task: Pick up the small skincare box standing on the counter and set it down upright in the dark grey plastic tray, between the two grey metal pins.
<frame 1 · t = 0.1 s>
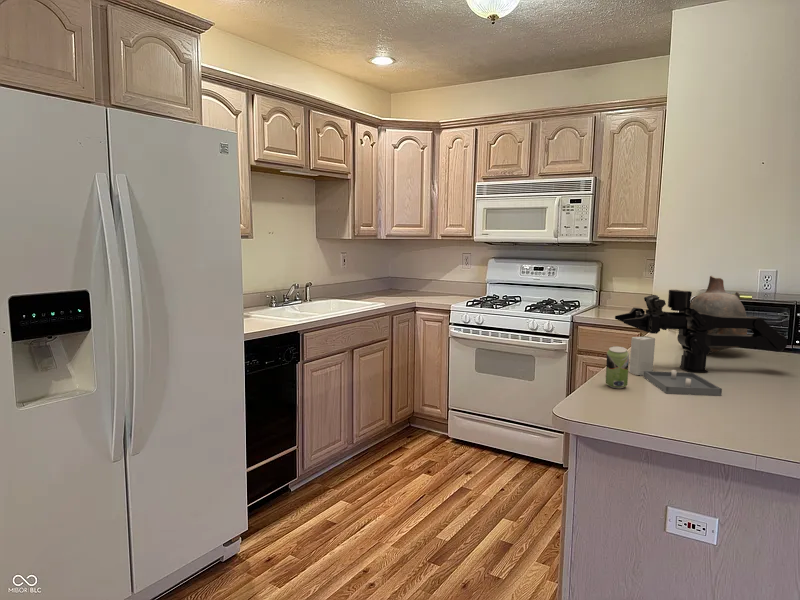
hand: (619, 319, 182), 17 cm above the worktop, tool horizontal, fingers open, 9 cm apart
tray: (680, 385, 162), on the worktop
beverage can: (615, 387, 160), on the worktop
jug: (711, 353, 210), on the worktop
skincare box: (640, 374, 175), on the worktop
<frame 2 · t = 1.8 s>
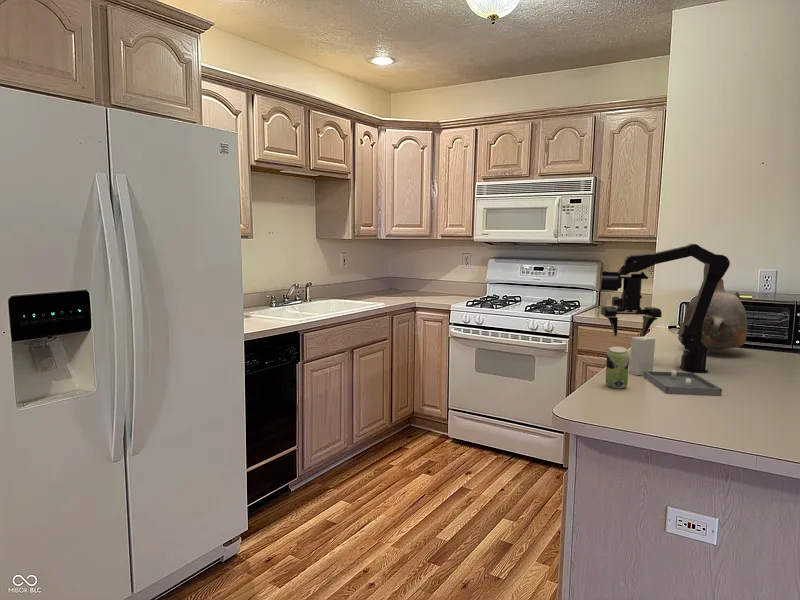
hand: (629, 336, 186), 10 cm above the worktop, tool pointing down, fingers open, 9 cm apart
nothing on the worktop moved.
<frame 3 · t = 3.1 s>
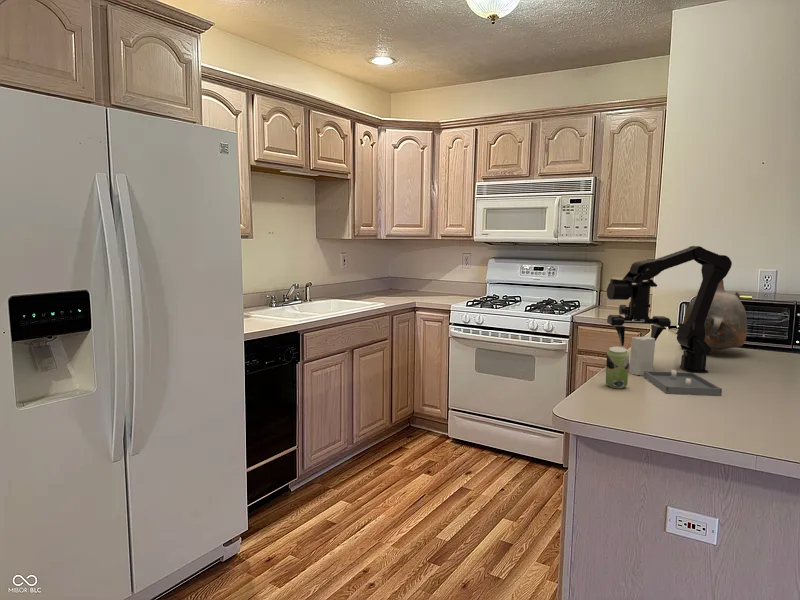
hand: (636, 346, 180), 8 cm above the worktop, tool pointing down, fingers open, 9 cm apart
nothing on the worktop moved.
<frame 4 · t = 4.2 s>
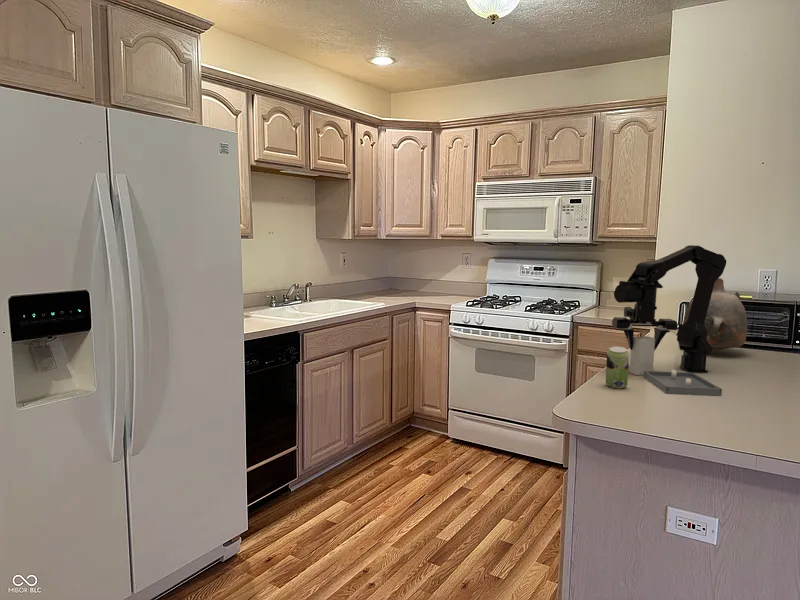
hand: (642, 349, 174), 8 cm above the worktop, tool pointing down, fingers closed on skincare box, 7 cm apart
skincare box: (640, 374, 175), on the worktop, touching gripper
everything else where it was.
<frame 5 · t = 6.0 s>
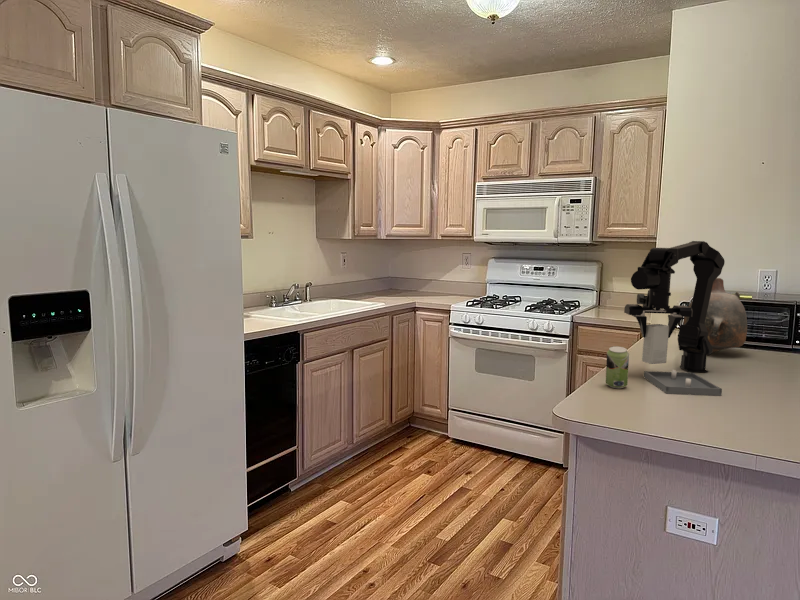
hand: (655, 337, 169), 13 cm above the worktop, tool pointing down, fingers closed on skincare box, 7 cm apart
skincare box: (653, 363, 170), point 5 cm above the worktop, touching gripper
everything else where it was.
when the fingers open (10 cm above the worktop, at t = 7.9 s): skincare box drops 1 cm, resting on tray.
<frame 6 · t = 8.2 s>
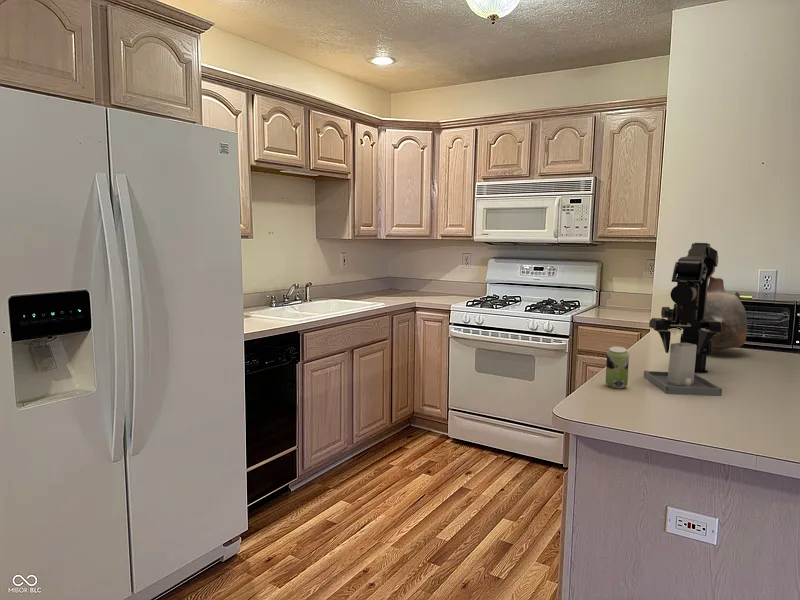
hand: (682, 353, 161), 10 cm above the worktop, tool pointing down, fingers open, 9 cm apart
skincare box: (680, 383, 162), point 1 cm above the worktop, touching tray
everything else where it was.
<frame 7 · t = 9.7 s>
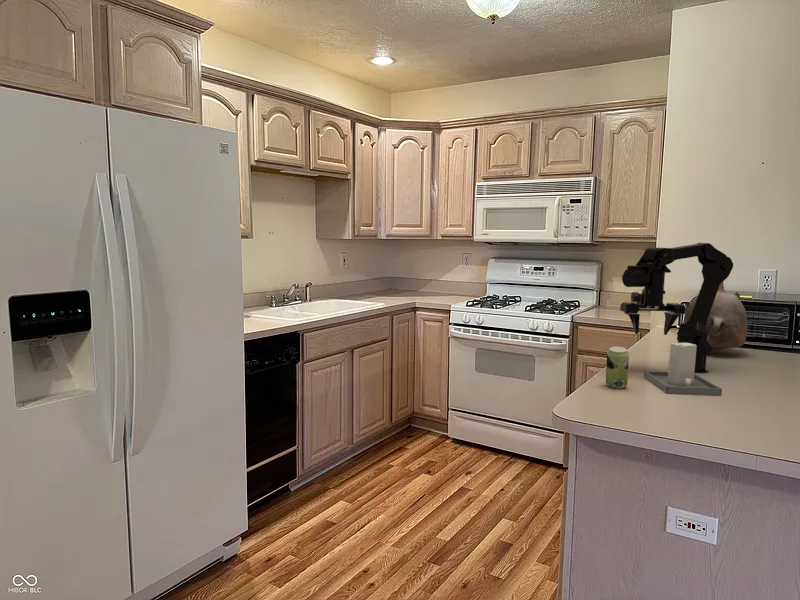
hand: (650, 334, 175), 13 cm above the worktop, tool pointing down, fingers open, 9 cm apart
nothing on the worktop moved.
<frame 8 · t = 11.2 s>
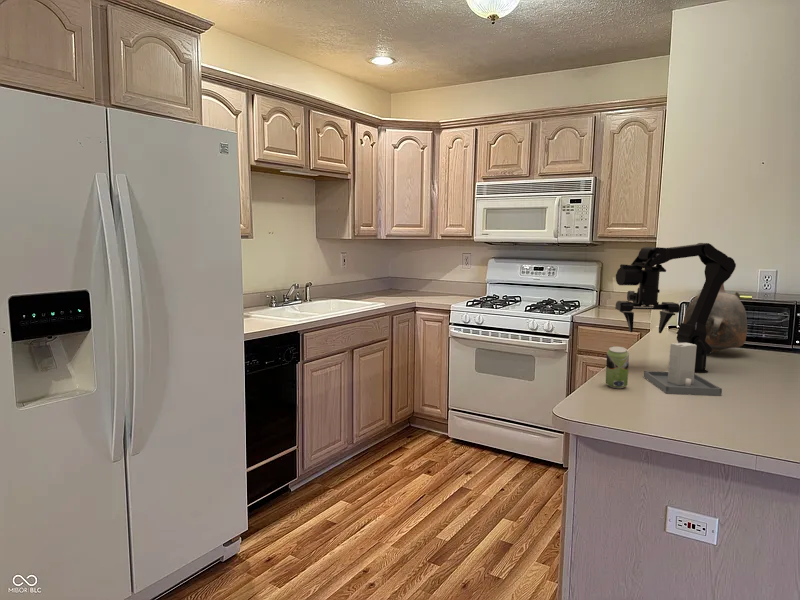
hand: (645, 332, 178), 13 cm above the worktop, tool pointing down, fingers open, 9 cm apart
nothing on the worktop moved.
at the end: skincare box 0.0 cm off-centre on the tray, point 0.6 cm above the tray's base; skincare box tilted 0°; the gripper is holding nothing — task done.
